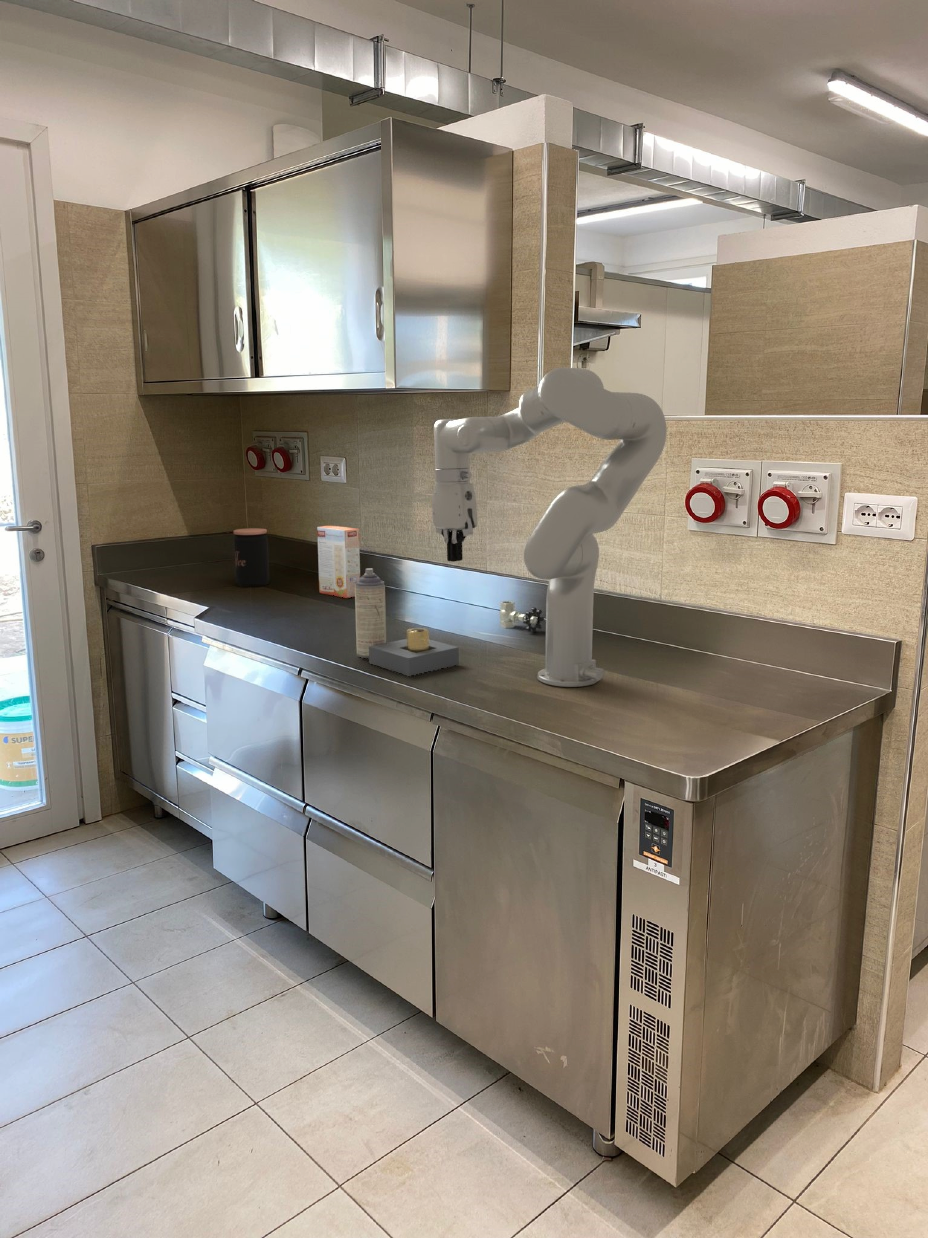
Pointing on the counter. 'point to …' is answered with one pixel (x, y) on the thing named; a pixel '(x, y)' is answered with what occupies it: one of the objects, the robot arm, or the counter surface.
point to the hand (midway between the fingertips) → (454, 560)
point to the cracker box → (338, 560)
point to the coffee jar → (251, 557)
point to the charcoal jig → (413, 657)
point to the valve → (519, 616)
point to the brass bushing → (417, 639)
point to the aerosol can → (369, 612)
